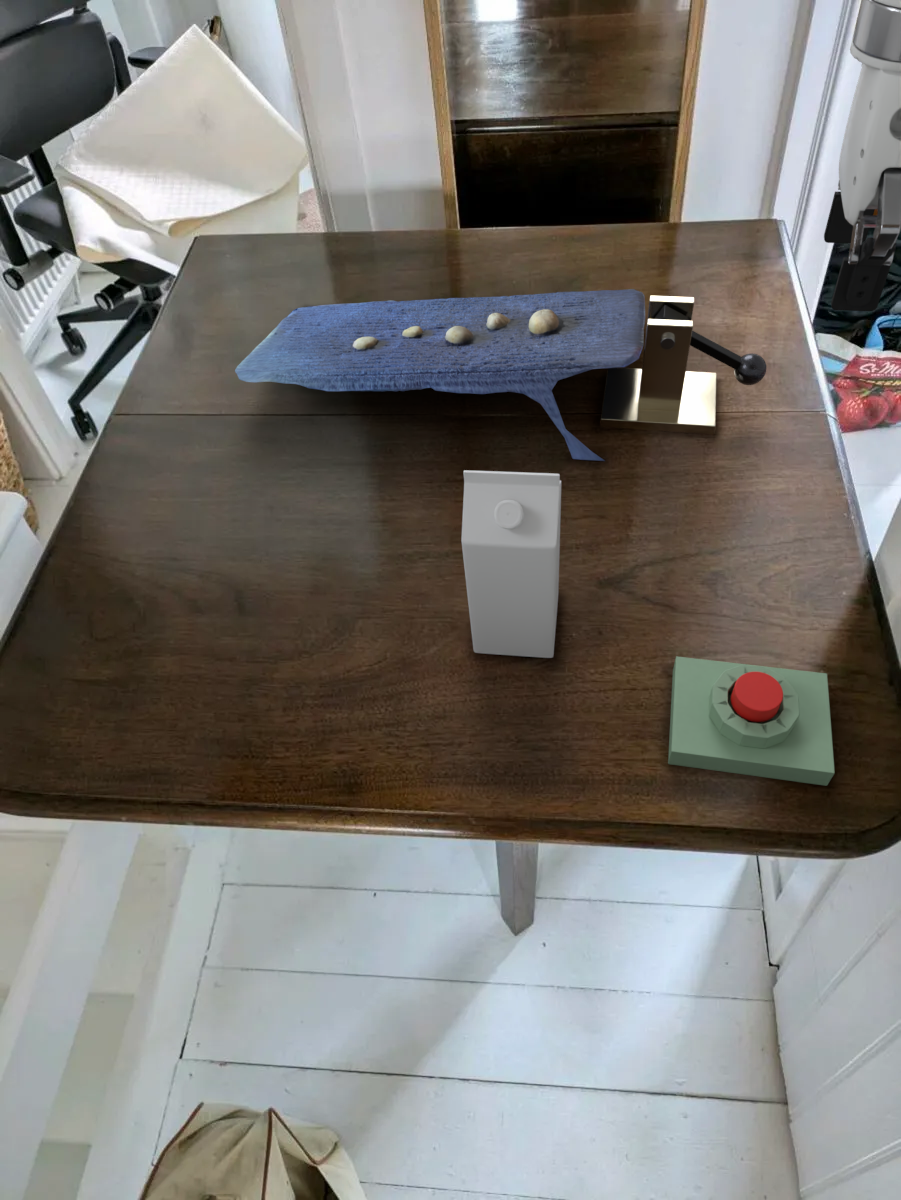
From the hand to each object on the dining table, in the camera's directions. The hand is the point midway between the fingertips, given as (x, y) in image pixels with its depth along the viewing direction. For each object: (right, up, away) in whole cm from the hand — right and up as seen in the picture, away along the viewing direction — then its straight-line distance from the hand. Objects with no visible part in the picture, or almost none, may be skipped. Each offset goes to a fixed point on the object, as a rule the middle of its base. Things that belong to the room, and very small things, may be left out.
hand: (848, 273), depth 67 cm
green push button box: (-7, -36, +2) cm, 37 cm away
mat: (-32, +1, +34) cm, 46 cm away
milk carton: (-25, -28, +11) cm, 39 cm away
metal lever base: (-8, -4, +27) cm, 29 cm away
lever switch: (-5, -1, +22) cm, 22 cm away
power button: (-8, -34, 0) cm, 35 cm away
